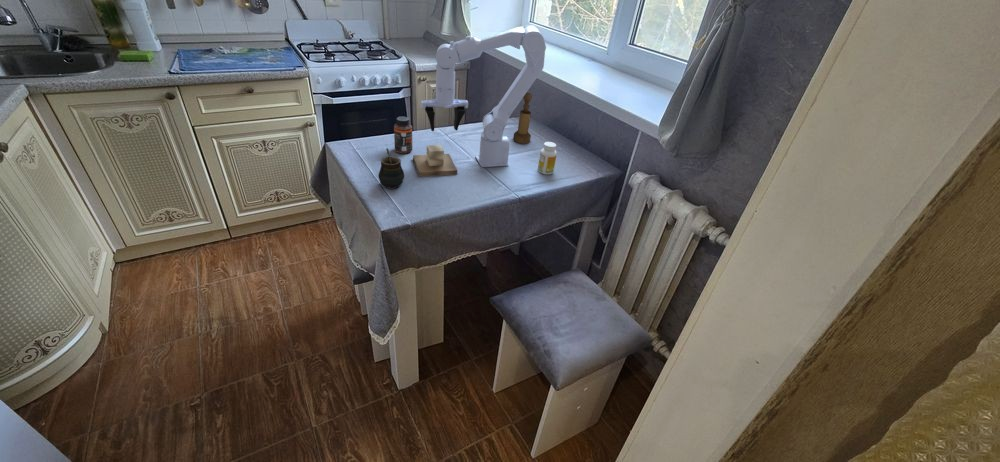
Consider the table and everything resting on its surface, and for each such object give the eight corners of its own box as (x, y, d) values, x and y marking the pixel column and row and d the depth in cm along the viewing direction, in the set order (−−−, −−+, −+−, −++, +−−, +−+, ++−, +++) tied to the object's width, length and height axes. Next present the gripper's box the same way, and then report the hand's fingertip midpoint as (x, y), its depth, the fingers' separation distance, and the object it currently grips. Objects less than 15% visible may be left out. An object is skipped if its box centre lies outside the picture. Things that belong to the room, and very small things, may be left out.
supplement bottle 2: (554, 169, 146) (560, 143, 141) (551, 176, 142) (556, 149, 137) (539, 165, 148) (544, 139, 142) (535, 172, 143) (540, 145, 138)
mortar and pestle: (530, 144, 162) (537, 97, 151) (513, 142, 161) (519, 95, 151) (529, 137, 167) (536, 91, 157) (513, 135, 167) (518, 89, 156)
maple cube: (439, 159, 141) (440, 144, 138) (443, 165, 138) (444, 150, 135) (426, 159, 140) (426, 145, 137) (429, 166, 136) (430, 151, 133)
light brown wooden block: (448, 159, 146) (449, 153, 145) (457, 175, 137) (457, 170, 136) (413, 160, 143) (413, 155, 141) (419, 178, 133) (419, 172, 132)
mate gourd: (385, 193, 123) (383, 161, 118) (374, 181, 128) (372, 150, 122) (408, 187, 127) (407, 156, 121) (397, 176, 132) (396, 146, 126)
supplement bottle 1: (408, 155, 144) (407, 123, 138) (391, 152, 145) (390, 120, 138) (415, 148, 149) (414, 117, 142) (398, 145, 150) (397, 114, 143)
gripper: (424, 91, 125) (424, 135, 133) (471, 91, 130) (469, 133, 138) (419, 83, 131) (419, 126, 139) (465, 84, 135) (463, 125, 143)
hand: (444, 129), depth 139 cm, fingers open, 7 cm apart
